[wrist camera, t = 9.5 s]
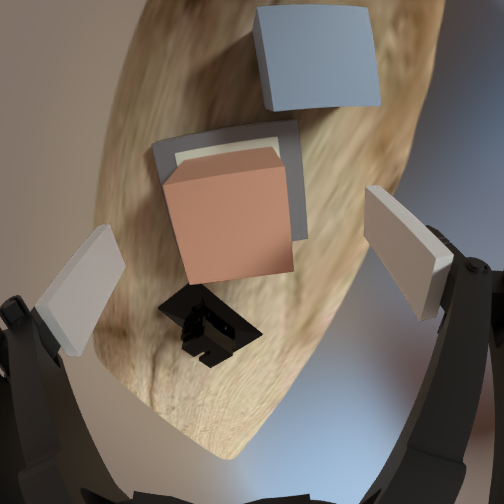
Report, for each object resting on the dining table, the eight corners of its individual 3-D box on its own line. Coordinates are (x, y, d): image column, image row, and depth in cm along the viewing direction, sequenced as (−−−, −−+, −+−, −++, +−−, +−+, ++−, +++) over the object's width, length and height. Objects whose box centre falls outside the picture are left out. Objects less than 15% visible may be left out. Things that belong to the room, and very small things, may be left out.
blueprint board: (294, 118, 19) (298, 120, 18) (304, 230, 24) (308, 239, 23) (156, 141, 20) (151, 144, 18) (183, 248, 24) (180, 257, 23)
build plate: (141, 298, 27) (128, 330, 23) (191, 255, 25) (182, 287, 21) (227, 362, 32) (226, 395, 28) (278, 333, 30) (283, 366, 26)
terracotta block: (272, 146, 19) (284, 166, 14) (280, 226, 22) (293, 271, 17) (183, 160, 19) (162, 185, 14) (200, 237, 22) (189, 284, 17)
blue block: (335, 27, 16) (367, 7, 11) (345, 102, 19) (380, 105, 14) (252, 30, 16) (257, 6, 11) (264, 108, 19) (273, 111, 14)
